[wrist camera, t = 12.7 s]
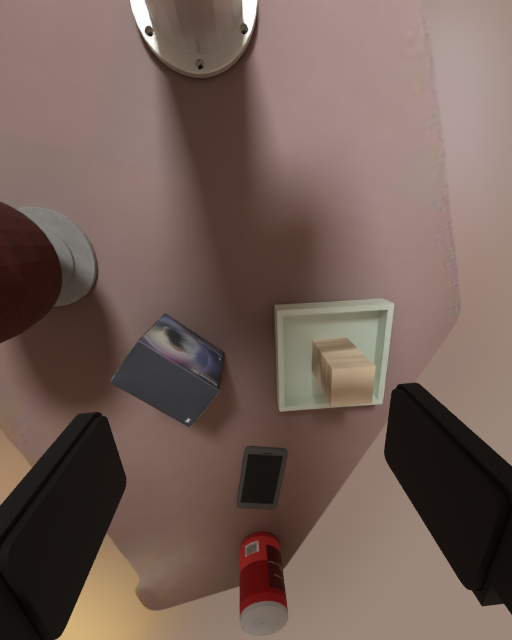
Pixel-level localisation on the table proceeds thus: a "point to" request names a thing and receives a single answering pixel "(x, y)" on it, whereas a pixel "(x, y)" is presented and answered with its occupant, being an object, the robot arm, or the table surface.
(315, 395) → the tray
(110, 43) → the table surface
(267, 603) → the canned food
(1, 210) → the mate gourd
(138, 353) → the small box
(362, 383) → the block
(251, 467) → the cell phone
